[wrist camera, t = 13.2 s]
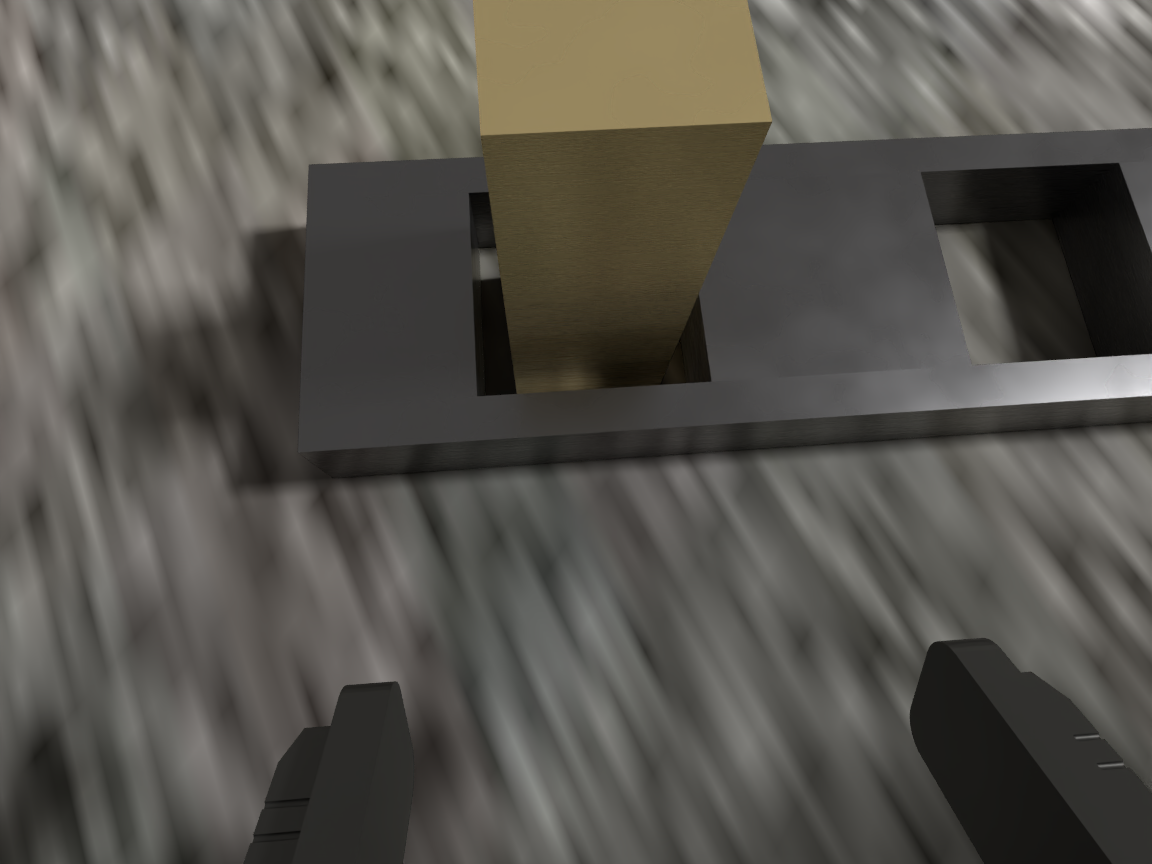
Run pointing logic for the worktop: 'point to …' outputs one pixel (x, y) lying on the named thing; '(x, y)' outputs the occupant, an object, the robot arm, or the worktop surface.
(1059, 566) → the worktop surface
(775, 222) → the grey peg board
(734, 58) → the brass peg
